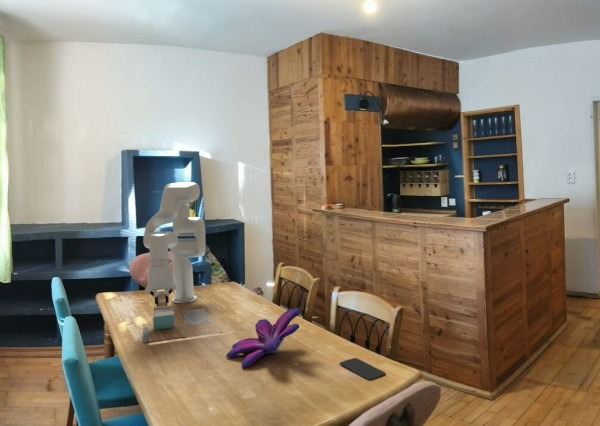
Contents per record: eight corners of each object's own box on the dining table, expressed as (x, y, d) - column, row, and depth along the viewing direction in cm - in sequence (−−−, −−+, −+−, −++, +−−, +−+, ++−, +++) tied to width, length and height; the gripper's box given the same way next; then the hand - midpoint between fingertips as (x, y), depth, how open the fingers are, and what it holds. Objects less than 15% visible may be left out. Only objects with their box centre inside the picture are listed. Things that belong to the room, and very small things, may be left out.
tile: (153, 326, 184) (152, 313, 177) (173, 323, 186) (173, 310, 179) (153, 330, 182) (153, 317, 176) (174, 328, 185) (174, 314, 178)
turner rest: (182, 313, 207) (182, 311, 207) (204, 310, 211) (203, 308, 211) (186, 327, 187) (186, 325, 187) (210, 324, 190) (210, 322, 190)
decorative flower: (244, 394, 138) (228, 367, 137) (231, 363, 168) (219, 340, 167) (326, 340, 146) (312, 314, 145) (301, 319, 175) (289, 297, 174)
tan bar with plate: (153, 302, 198) (152, 289, 198) (169, 300, 201) (168, 287, 200) (153, 314, 181) (153, 299, 181) (171, 311, 184) (171, 297, 183)
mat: (143, 328, 187) (143, 327, 187) (182, 323, 192) (182, 322, 192) (143, 343, 170) (143, 342, 170) (186, 337, 175) (186, 336, 175)
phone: (368, 379, 133) (337, 362, 146) (368, 382, 133) (338, 365, 146) (387, 373, 137) (355, 357, 150) (387, 376, 137) (355, 359, 150)
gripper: (178, 259, 197) (180, 300, 198) (139, 263, 191) (141, 305, 193) (180, 262, 190) (182, 305, 191) (139, 266, 184) (141, 310, 186)
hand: (161, 304), depth 192 cm, fingers closed on tan bar with plate, 3 cm apart
